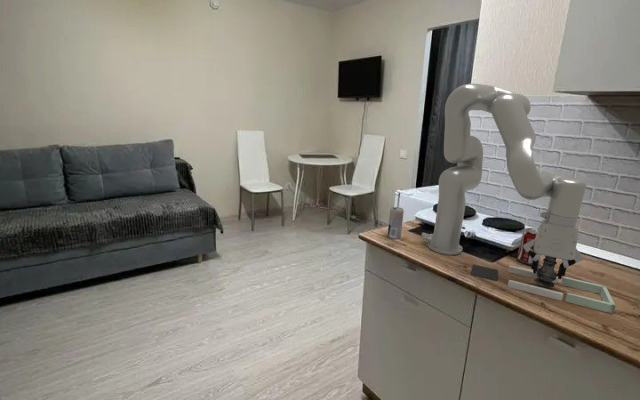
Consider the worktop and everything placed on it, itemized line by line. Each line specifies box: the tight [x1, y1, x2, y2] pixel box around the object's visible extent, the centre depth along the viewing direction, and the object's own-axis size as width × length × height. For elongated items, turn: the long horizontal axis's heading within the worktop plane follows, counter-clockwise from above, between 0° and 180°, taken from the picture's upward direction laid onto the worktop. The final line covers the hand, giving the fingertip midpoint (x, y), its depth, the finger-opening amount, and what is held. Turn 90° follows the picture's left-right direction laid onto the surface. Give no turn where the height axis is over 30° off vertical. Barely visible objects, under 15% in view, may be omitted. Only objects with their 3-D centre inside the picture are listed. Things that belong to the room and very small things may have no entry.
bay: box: [560, 276, 616, 315], centre depth 103 cm, size 11×12×2 cm
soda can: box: [516, 227, 541, 266], centre depth 123 cm, size 7×7×12 cm
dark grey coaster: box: [470, 263, 499, 282], centre depth 115 cm, size 8×8×1 cm
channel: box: [507, 264, 564, 302], centre depth 109 cm, size 14×12×2 cm
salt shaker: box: [534, 256, 558, 288], centre depth 106 cm, size 6×6×12 cm
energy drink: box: [387, 206, 405, 240], centre depth 140 cm, size 5×5×12 cm
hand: (546, 273), depth 106 cm, fingers closed on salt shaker, 5 cm apart
